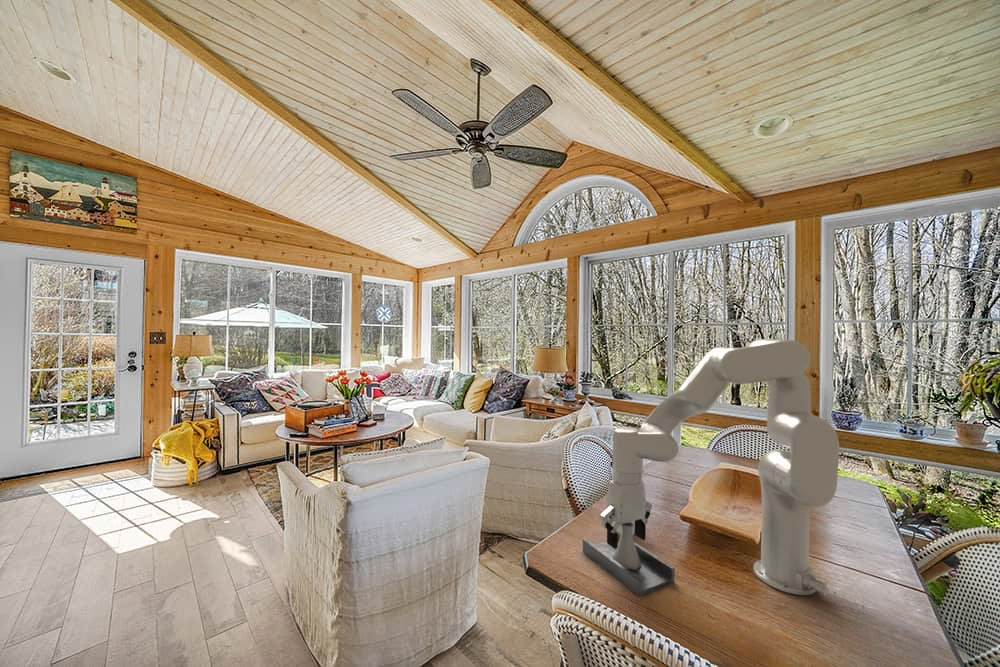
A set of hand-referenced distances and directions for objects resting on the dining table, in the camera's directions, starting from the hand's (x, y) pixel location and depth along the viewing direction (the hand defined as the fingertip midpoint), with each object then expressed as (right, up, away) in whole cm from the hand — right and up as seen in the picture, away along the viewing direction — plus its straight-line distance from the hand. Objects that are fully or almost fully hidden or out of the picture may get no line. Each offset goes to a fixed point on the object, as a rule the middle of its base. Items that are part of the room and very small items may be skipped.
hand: (626, 541), depth 100 cm
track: (0, -6, 0) cm, 6 cm away
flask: (0, -6, 0) cm, 6 cm away
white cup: (+6, -7, +19) cm, 21 cm away
